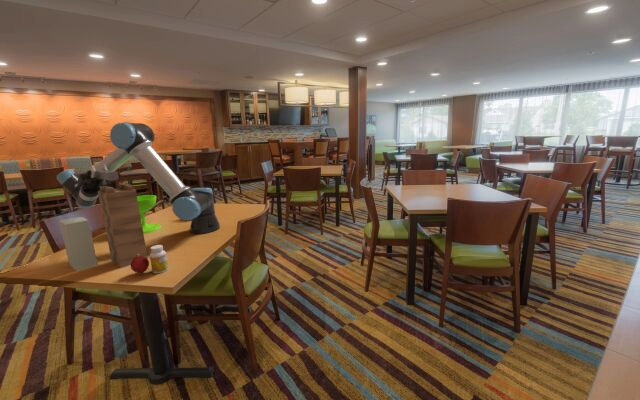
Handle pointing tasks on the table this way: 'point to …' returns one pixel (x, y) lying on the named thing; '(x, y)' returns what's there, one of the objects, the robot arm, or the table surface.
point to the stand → (122, 223)
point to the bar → (106, 174)
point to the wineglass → (144, 205)
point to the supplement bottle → (158, 259)
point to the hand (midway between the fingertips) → (99, 167)
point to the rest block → (78, 243)
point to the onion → (139, 264)
